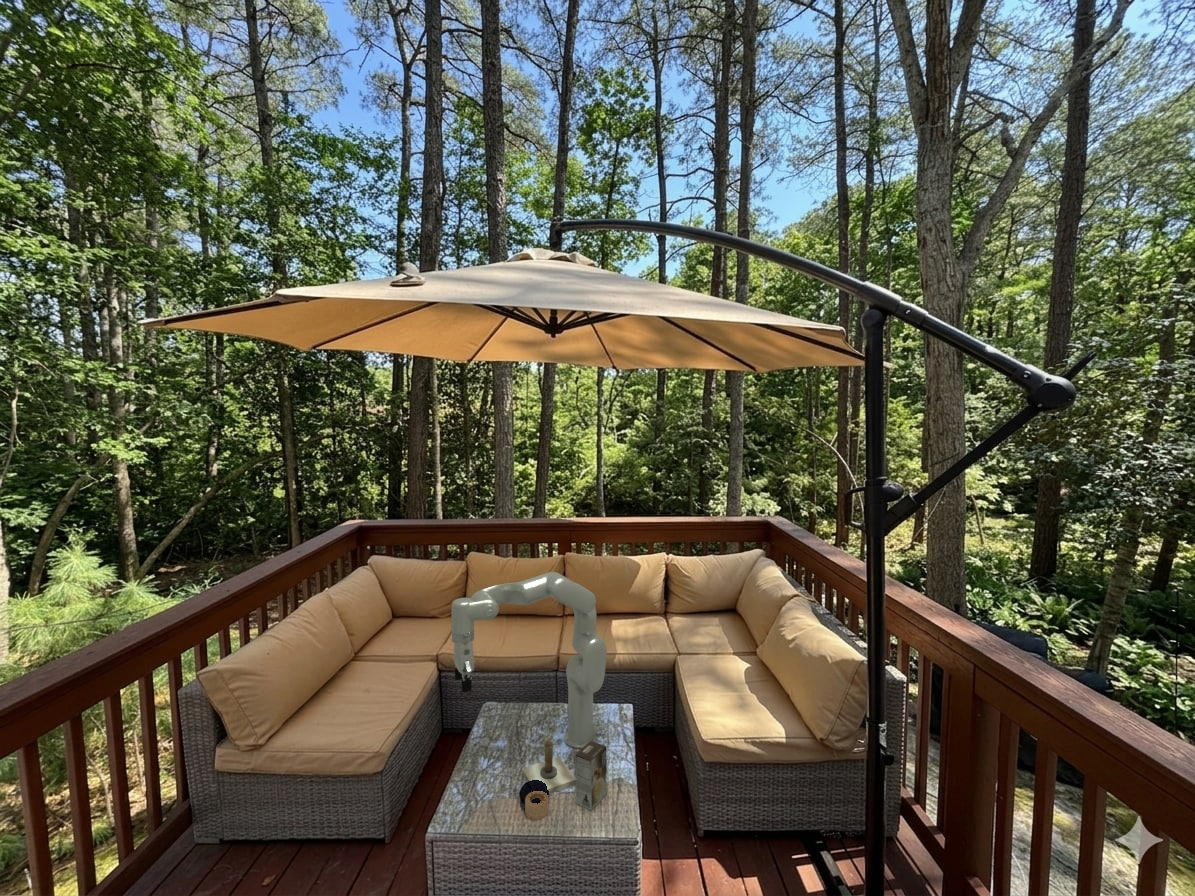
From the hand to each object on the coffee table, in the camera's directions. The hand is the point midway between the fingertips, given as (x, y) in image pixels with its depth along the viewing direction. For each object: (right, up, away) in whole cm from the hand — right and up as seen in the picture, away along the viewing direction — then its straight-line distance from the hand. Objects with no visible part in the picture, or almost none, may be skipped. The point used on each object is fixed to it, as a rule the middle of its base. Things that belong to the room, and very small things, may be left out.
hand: (463, 685), depth 177 cm
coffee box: (+44, -32, -11) cm, 55 cm away
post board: (+29, -31, -2) cm, 43 cm away
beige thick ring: (+27, -32, -16) cm, 45 cm away
